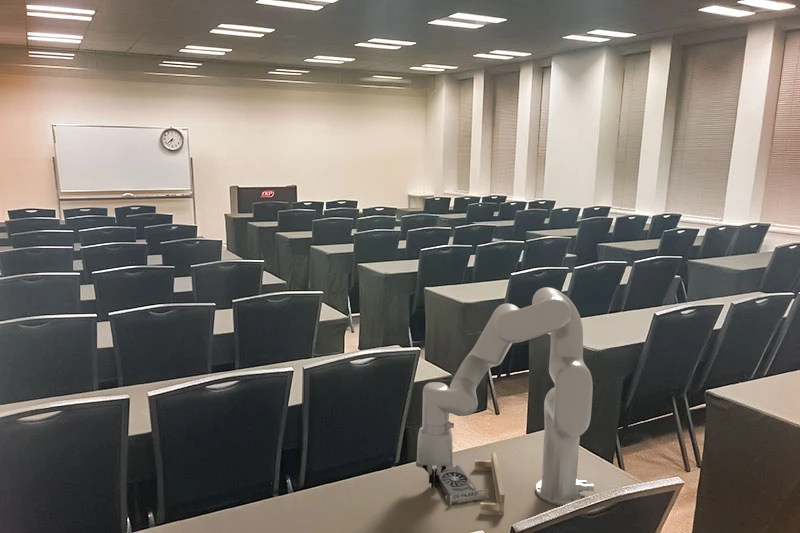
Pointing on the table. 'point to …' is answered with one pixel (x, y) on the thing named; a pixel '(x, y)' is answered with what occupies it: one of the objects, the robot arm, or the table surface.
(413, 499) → the table surface
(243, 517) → the table surface
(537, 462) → the table surface
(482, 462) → the birch bracket
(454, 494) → the graphics card
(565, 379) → the robot arm
